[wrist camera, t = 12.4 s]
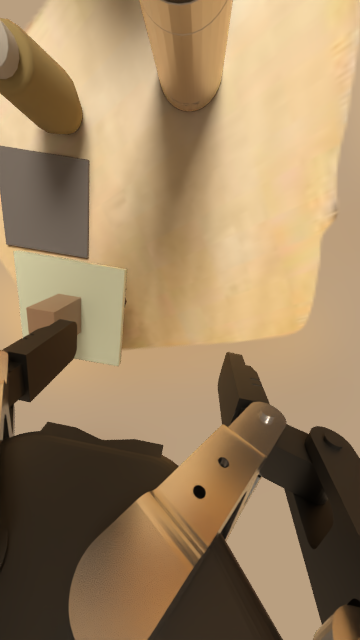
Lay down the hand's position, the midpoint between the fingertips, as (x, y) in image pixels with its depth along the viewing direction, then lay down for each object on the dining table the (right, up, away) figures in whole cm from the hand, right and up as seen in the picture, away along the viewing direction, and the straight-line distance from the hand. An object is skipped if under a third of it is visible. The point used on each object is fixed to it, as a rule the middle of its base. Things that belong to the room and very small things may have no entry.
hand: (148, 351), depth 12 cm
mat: (-23, +22, +29) cm, 43 cm away
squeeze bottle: (-17, +35, +24) cm, 45 cm away
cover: (-13, +3, +19) cm, 24 cm away
